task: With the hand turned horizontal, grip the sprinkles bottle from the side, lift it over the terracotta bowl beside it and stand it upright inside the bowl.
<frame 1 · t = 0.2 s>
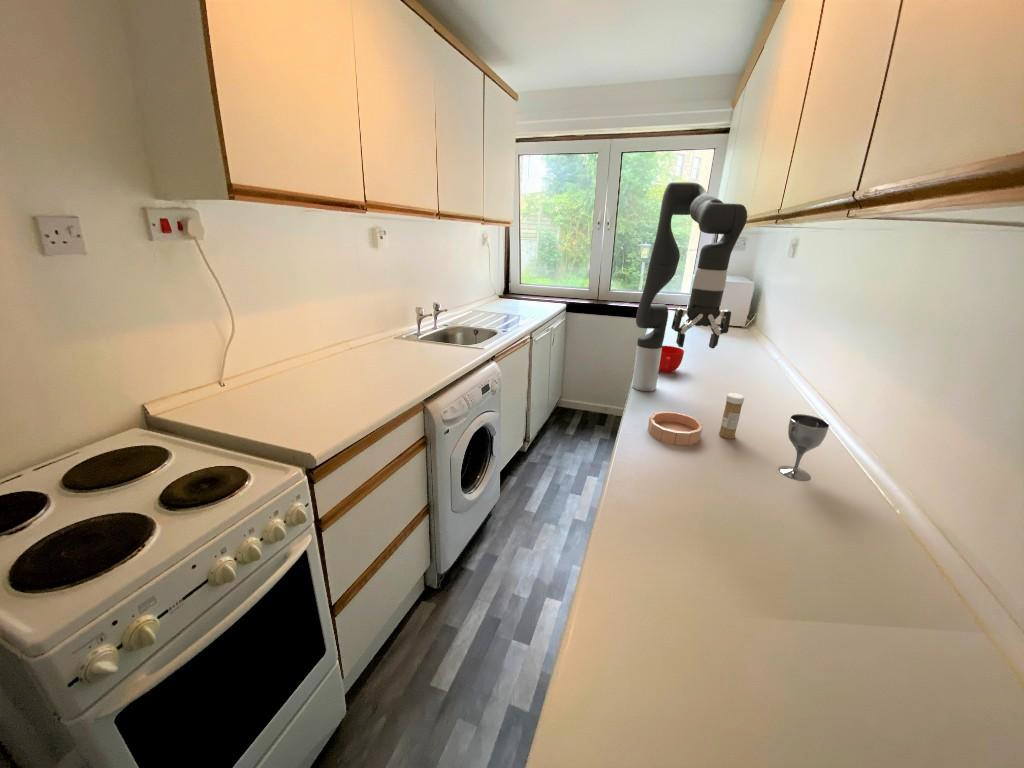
hand: (695, 347, 113), 29 cm above the worktop, tool pointing down, fingers open, 8 cm apart
terracotta bowl: (673, 433, 128), on the worktop
ceramic cup: (665, 372, 184), on the worktop
sprinkles bottle: (726, 436, 127), on the worktop
wine glass: (794, 473, 108), on the worktop
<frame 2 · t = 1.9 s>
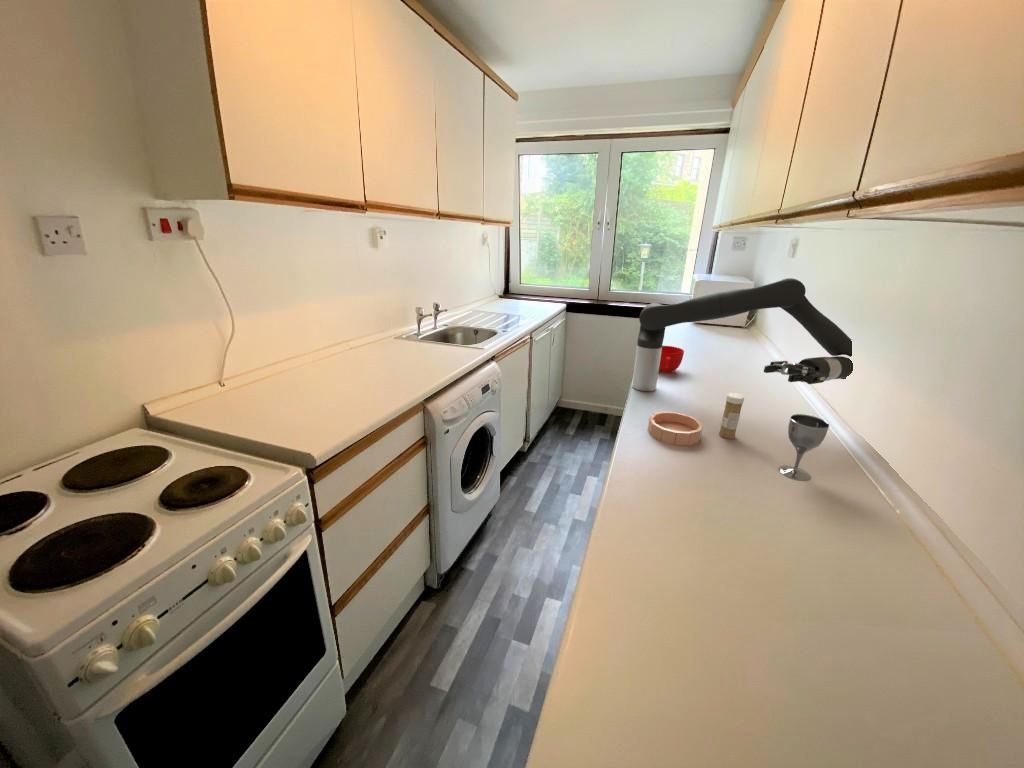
hand: (776, 373, 123), 19 cm above the worktop, tool horizontal, fingers open, 8 cm apart
nothing on the worktop moved.
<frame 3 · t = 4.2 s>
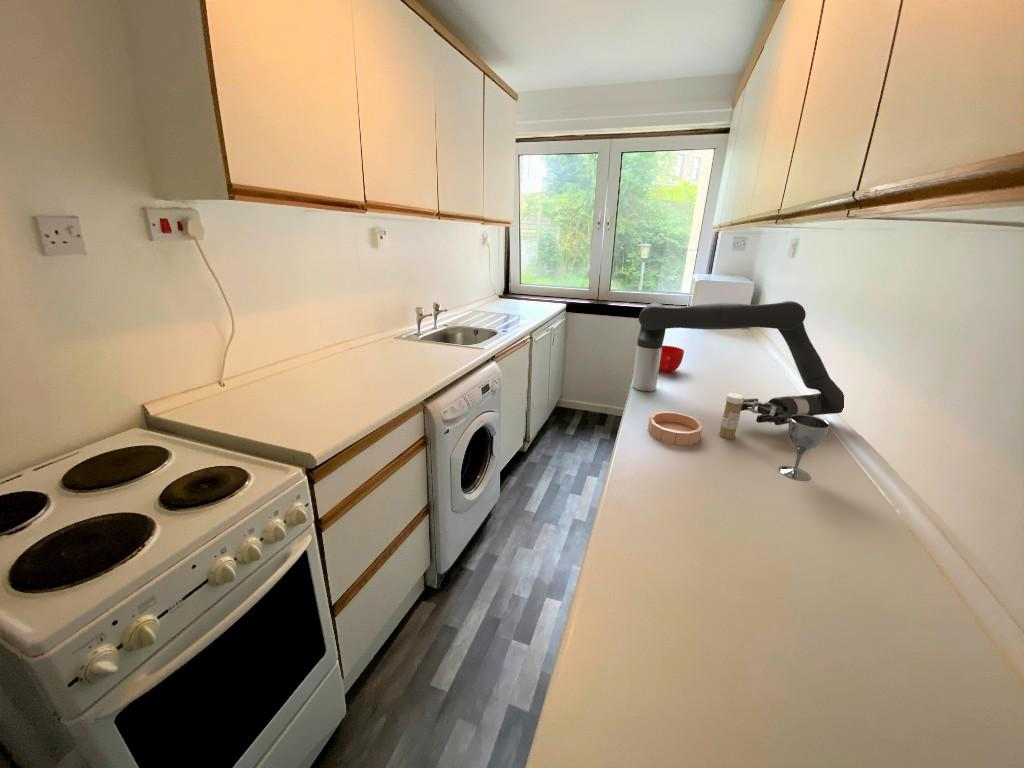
hand: (746, 413, 126), 7 cm above the worktop, tool horizontal, fingers open, 8 cm apart
nothing on the worktop moved.
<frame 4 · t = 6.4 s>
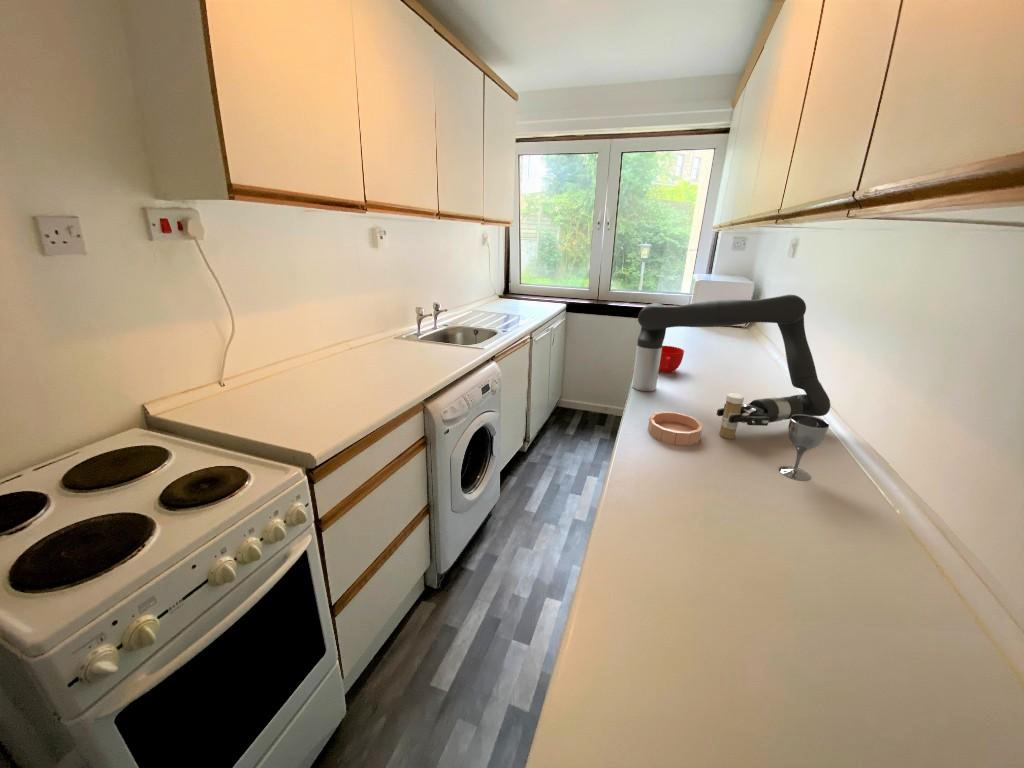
hand: (724, 415, 124), 7 cm above the worktop, tool horizontal, fingers closed on sprinkles bottle, 4 cm apart
sprinkles bottle: (726, 436, 127), on the worktop, touching gripper
everything else where it was.
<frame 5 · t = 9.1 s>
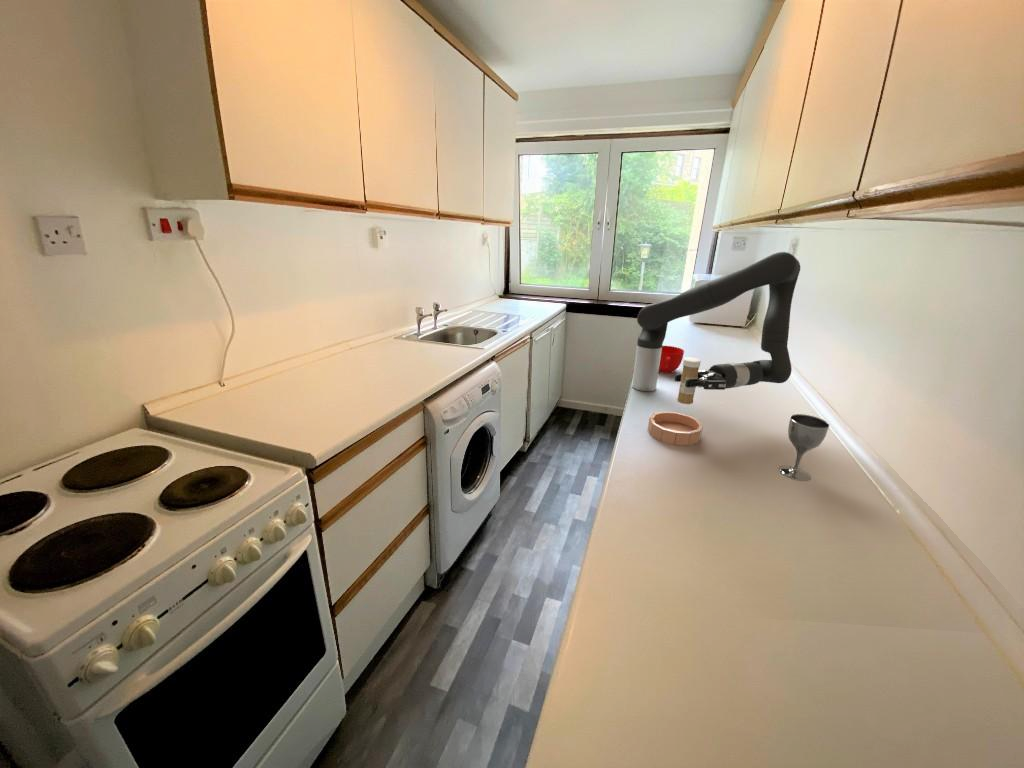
hand: (681, 380, 121), 18 cm above the worktop, tool horizontal, fingers closed on sprinkles bottle, 4 cm apart
sprinkles bottle: (685, 402, 125), point 10 cm above the worktop, touching gripper
everything else where it was.
when the fingers open (9 cm above the worktop, at t = 12.1 s): sprinkles bottle drops 1 cm, resting on terracotta bowl.
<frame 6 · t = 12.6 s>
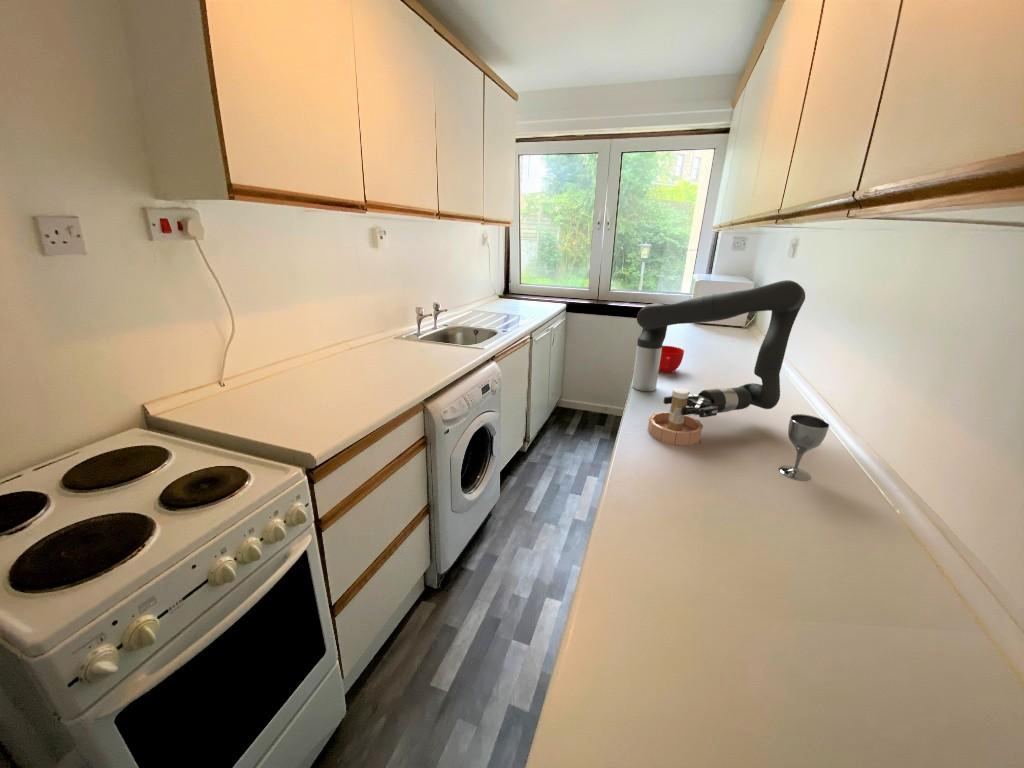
hand: (673, 405, 124), 10 cm above the worktop, tool horizontal, fingers open, 8 cm apart
sprinkles bottle: (674, 430, 128), point 1 cm above the worktop, touching terracotta bowl
everything else where it was.
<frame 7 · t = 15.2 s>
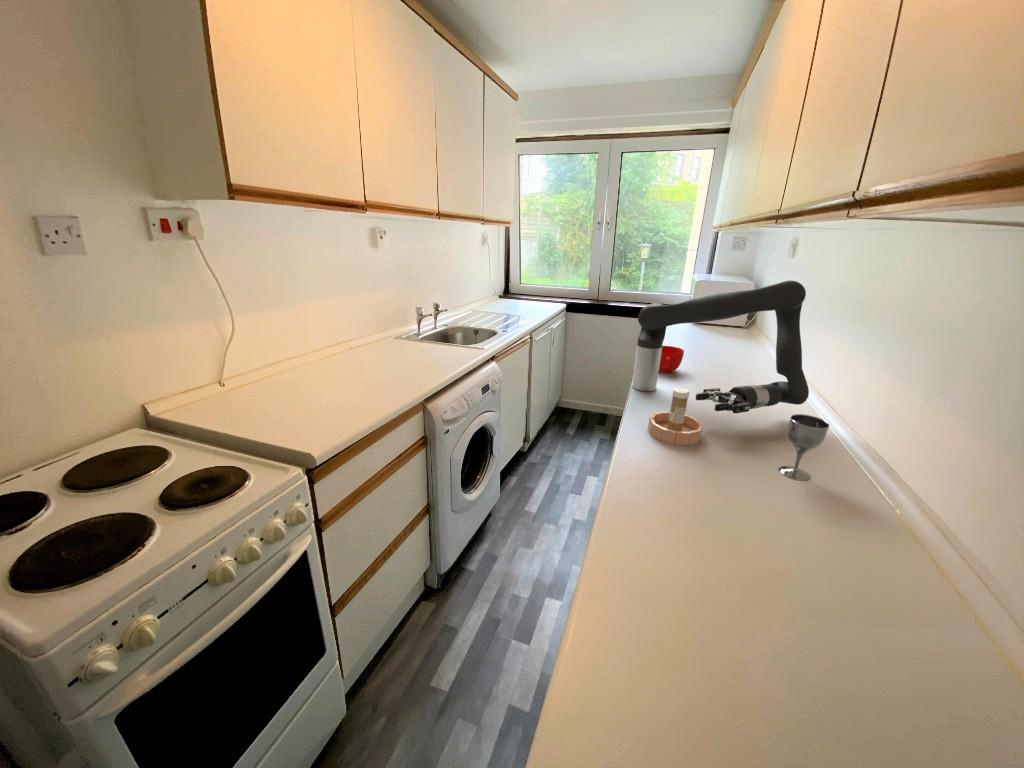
hand: (705, 402, 127), 10 cm above the worktop, tool horizontal, fingers open, 8 cm apart
nothing on the worktop moved.
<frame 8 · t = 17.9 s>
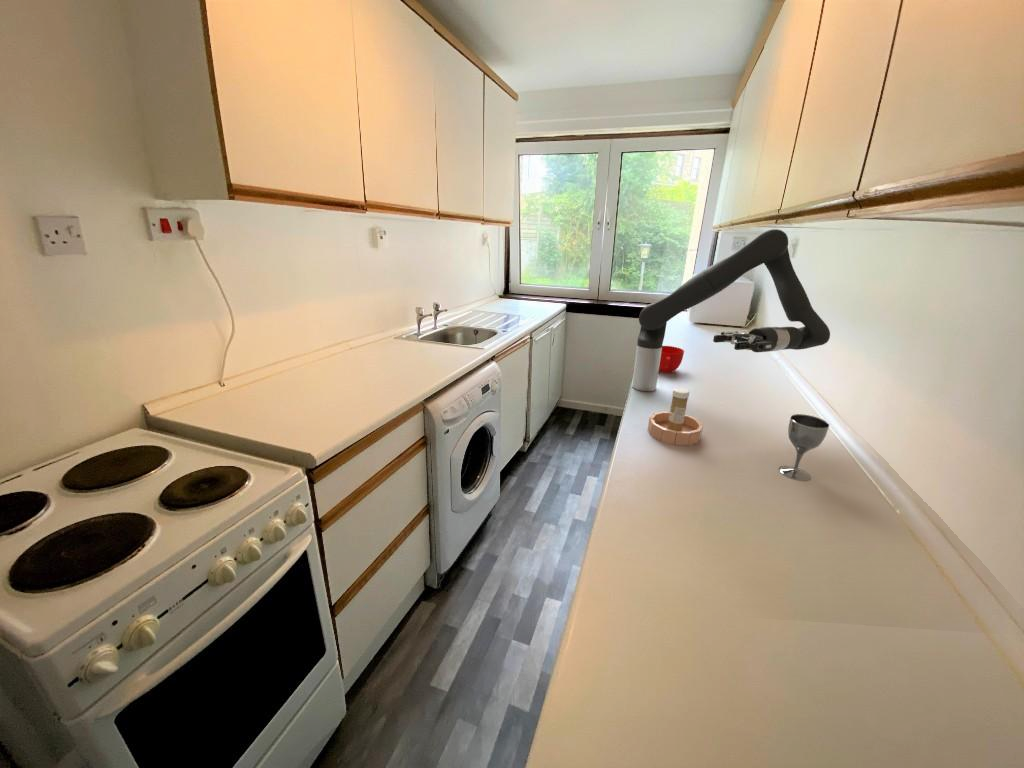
hand: (724, 342, 123), 28 cm above the worktop, tool horizontal, fingers open, 8 cm apart
nothing on the worktop moved.
at the end: sprinkles bottle inside the target area on the terracotta bowl (0.1 cm from its centre), point 0.8 cm above the terracotta bowl's base; sprinkles bottle tilted 0°; the gripper is holding nothing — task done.
